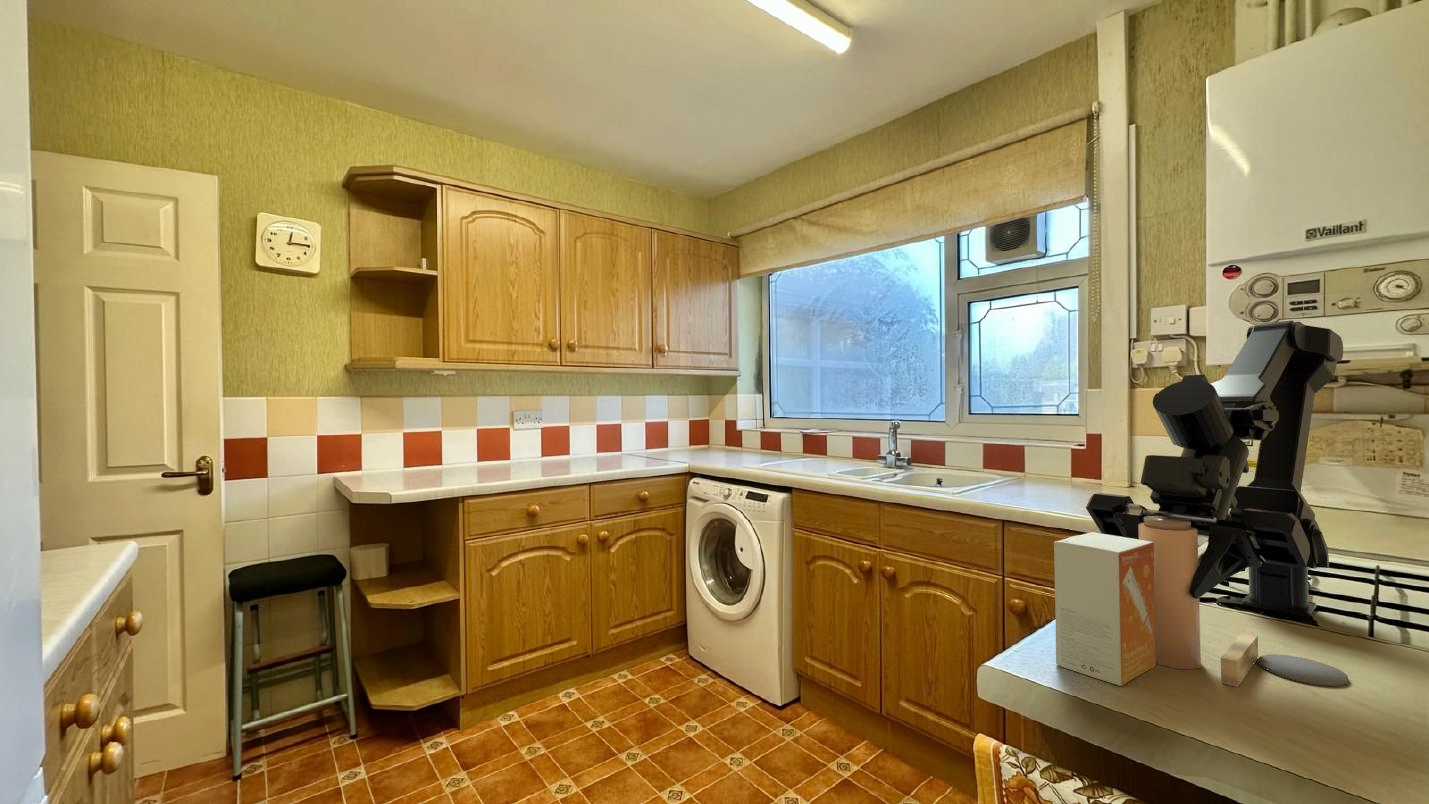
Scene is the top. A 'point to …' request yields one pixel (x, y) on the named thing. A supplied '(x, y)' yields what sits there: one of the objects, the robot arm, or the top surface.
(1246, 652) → the block
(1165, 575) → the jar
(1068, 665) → the small box
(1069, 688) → the top surface
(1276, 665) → the coaster
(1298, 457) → the robot arm
